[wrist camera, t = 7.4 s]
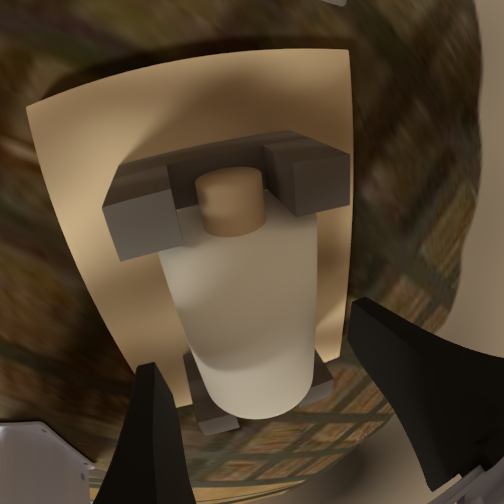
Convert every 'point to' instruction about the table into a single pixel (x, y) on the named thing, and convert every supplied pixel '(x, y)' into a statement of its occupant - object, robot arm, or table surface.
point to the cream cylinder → (246, 293)
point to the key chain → (336, 2)
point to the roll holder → (184, 190)
